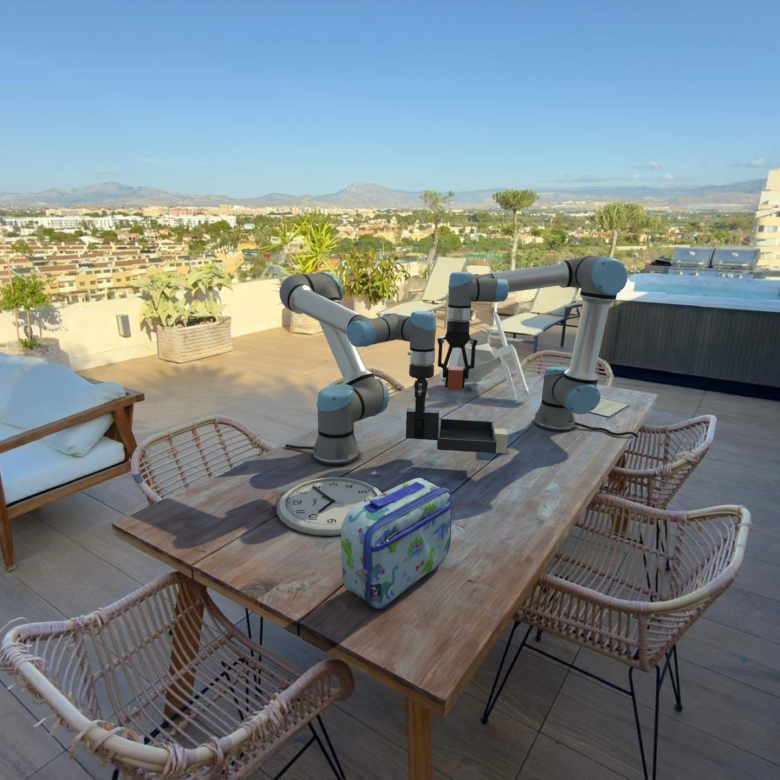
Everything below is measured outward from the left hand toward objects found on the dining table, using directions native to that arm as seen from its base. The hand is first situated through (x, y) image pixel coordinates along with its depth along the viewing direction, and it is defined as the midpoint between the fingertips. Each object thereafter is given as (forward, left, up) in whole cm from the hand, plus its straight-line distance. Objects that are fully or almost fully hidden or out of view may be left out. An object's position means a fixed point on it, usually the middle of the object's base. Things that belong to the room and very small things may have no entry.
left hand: (419, 435), depth 164 cm
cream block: (+17, +26, -11) cm, 33 cm away
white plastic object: (-13, +85, -11) cm, 87 cm away
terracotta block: (+1, +23, +10) cm, 25 cm away
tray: (+9, +4, -1) cm, 10 cm away
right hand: (+1, +23, +10) cm, 26 cm away
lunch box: (+23, -52, -11) cm, 58 cm away
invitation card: (+39, +95, -11) cm, 104 cm away
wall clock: (-8, -34, -11) cm, 37 cm away
